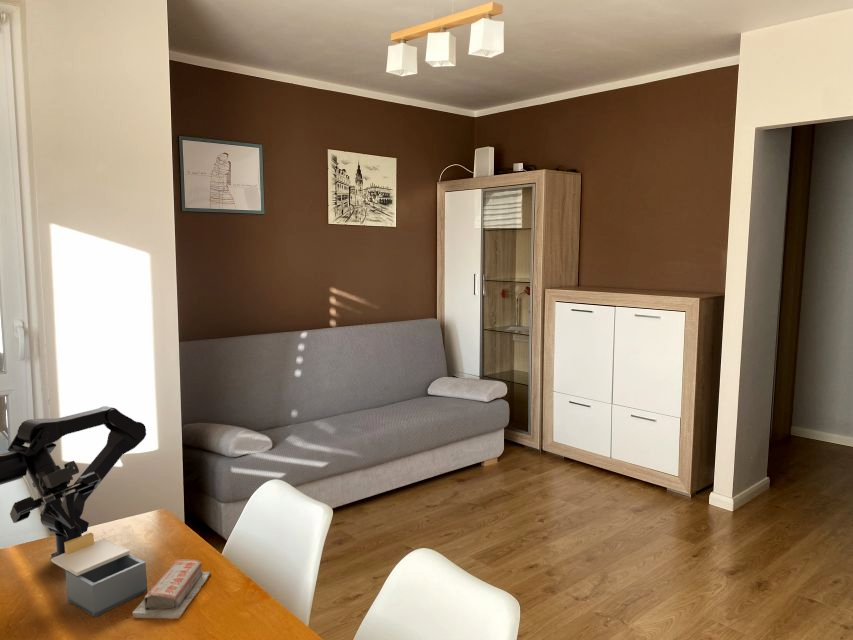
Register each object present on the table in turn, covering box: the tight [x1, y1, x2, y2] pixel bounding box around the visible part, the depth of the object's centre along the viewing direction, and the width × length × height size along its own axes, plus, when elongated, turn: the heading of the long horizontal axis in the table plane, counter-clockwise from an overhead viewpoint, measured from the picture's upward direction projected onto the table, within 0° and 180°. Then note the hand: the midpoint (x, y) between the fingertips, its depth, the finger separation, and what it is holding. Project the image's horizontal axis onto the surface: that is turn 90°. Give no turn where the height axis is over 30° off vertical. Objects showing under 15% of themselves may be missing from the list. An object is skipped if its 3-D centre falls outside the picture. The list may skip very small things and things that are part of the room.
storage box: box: [64, 553, 149, 618], centre depth 145 cm, size 11×12×7 cm
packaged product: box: [132, 558, 212, 620], centre depth 145 cm, size 18×5×10 cm
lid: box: [51, 532, 131, 576], centre depth 147 cm, size 11×12×3 cm
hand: (73, 527), depth 152 cm, fingers closed
